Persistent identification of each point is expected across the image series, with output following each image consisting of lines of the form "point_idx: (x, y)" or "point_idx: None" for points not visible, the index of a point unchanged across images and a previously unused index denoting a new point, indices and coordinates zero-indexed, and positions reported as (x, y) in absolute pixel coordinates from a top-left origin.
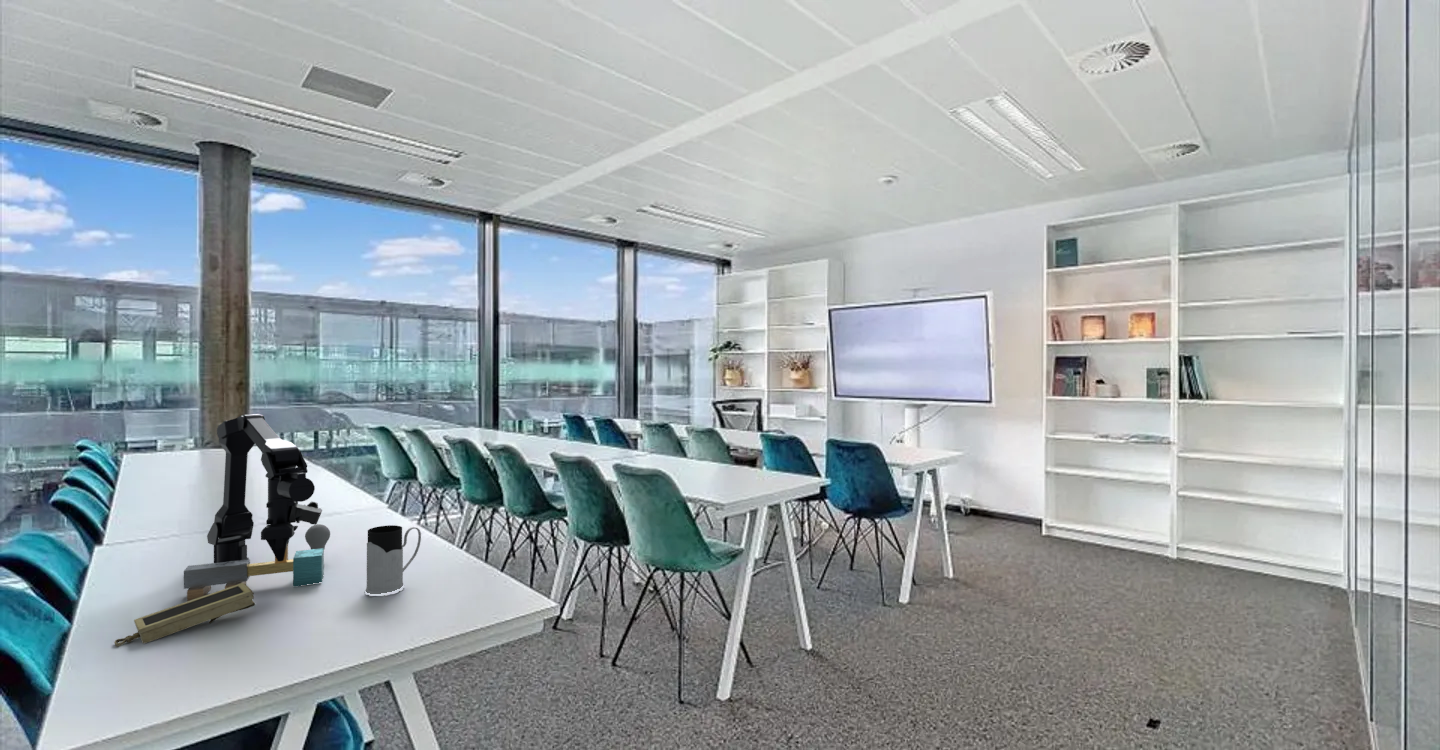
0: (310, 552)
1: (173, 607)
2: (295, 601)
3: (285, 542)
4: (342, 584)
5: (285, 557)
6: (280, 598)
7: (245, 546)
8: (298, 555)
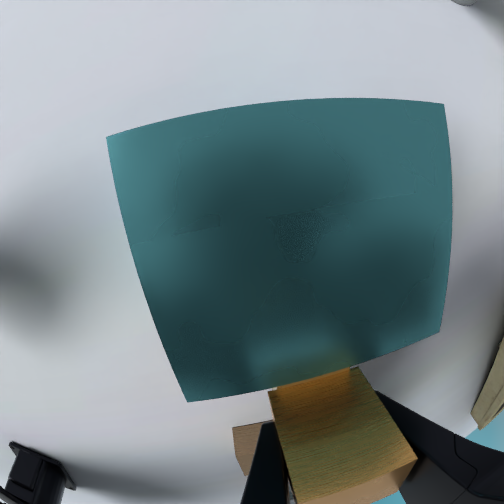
0: (294, 250)
1: (498, 409)
2: (487, 196)
3: (501, 457)
4: (364, 37)
5: (374, 397)
6: (451, 255)
7: (15, 479)
8: (375, 331)
